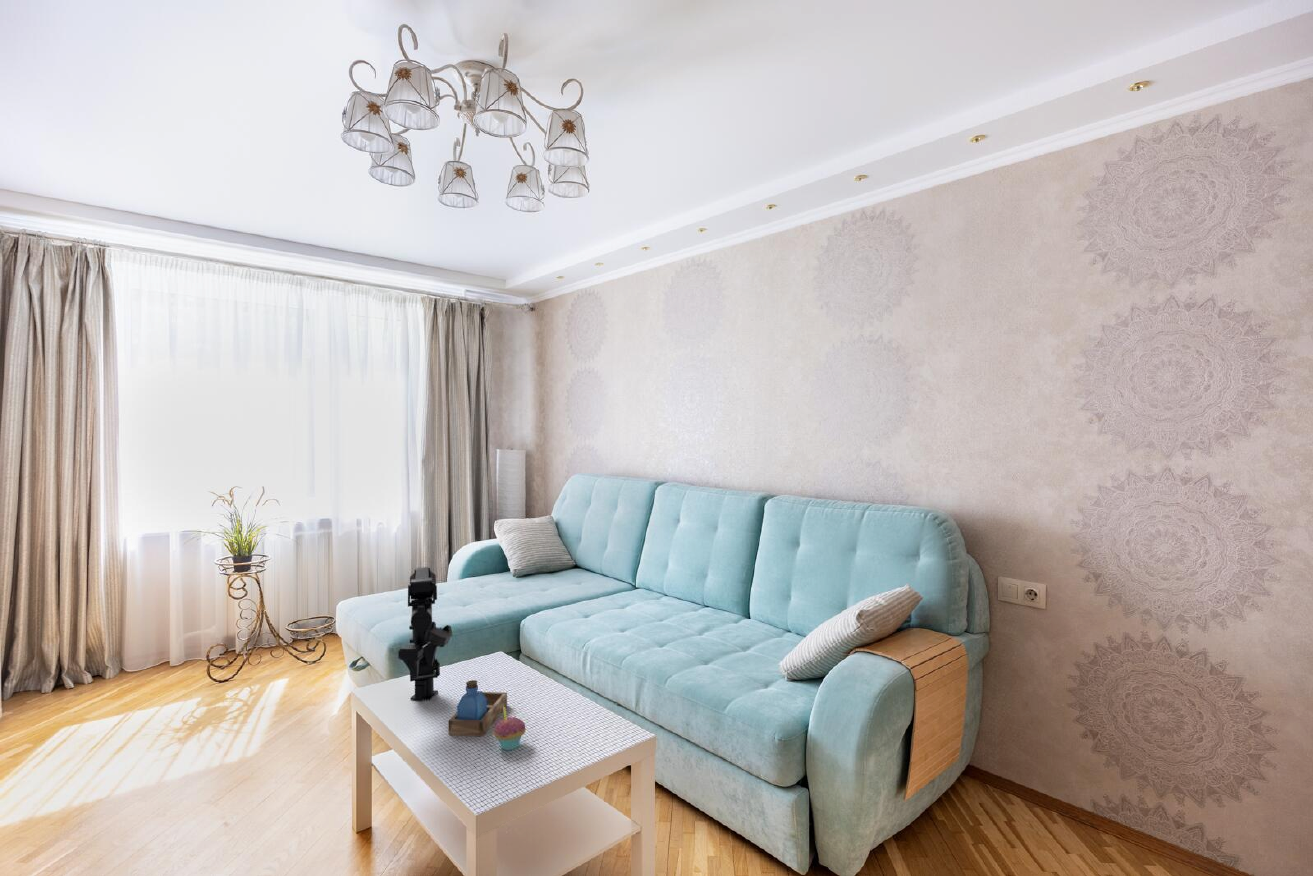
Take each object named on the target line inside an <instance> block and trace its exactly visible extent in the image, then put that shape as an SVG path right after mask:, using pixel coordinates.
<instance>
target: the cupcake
mask: <svg viewBox="0 0 1313 876" xmlns="http://www.w3.org/2000/svg"><path fill="white" fill-rule="evenodd" d="M502 713H503V719H501V720H500V721H498V722H497V723H496V724H495V726H493V727H494V728H493V736H494V738H495V739H497V740H498V741H499V746H500V748H501V749H502V750H504V751H512V750H515V749H517V748H518V747H519V746H520V742H521V738H522V736H523V735H525V733H526V730H527V729H526V724H525V722H524V721H523V720H522V719H520V718H518V717H516V716H515V717H512V716H511V717H508V715H507V710H506V707H504V705H503V711H502Z"/></svg>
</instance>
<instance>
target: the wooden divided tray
mask: <svg viewBox="0 0 1313 876" xmlns="http://www.w3.org/2000/svg"><path fill="white" fill-rule="evenodd" d="M482 693H483V694H484V695H485V697H486V698H487V713H486V714H485V715H484V717H483V718H482V719H481V720H458V719H457V711H456V712H455V713H454V714H453V715H452V717H451V718H449V720H447V721H448V736H464V737H465V736H466V737H468V736H469V737H483V736H484V735H485V734H486V733H485V732H487V731H488V730H489V729H490V728H491V726H492V725H493V724H494V723H495V722H496V720H497V719H498V718H499V716H500V715H501V714H502V713H503V705H504V707H505V708H506V707H507V706H508V692H503V691H502V692H501V691H500V692H498V691H497V692H496V691H482ZM506 705H507V706H506ZM499 714H500V715H499Z"/></svg>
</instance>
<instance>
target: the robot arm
mask: <svg viewBox="0 0 1313 876" xmlns="http://www.w3.org/2000/svg"><path fill="white" fill-rule="evenodd" d="M436 576H437V575H436V573H434V572H433V571H431V567H429V566H425V567H416V568H414V573H412V574H411V575H410V577H409V584H408V585H407V607H411V616H410V625H409V630H411V632H412V633H411V634H412V636H411V638H410V639H409V644H405V645H404V646H402V647H401V648H400V649H399V650H397V659H399V660H401V661H403V663H404V664H405V666H406V667H407V669H408V670H409V680H410V682H414V694H413V695H412V696H410V700H412V701H413V700H414V701H430V700H431V699H432V698H433V697H435V696H436V695H437V694H438V693H439V690H435V687H434V681H435V679H438V678H439V676H440V675H441V671H440V670H441V669H440V668H441V665H440V664H441V663H440V662H439V661H438V658H436V653H437V650H438V647H439V648H445V646H446V645H448V644H449V643H450V640H451V637H453V630H452V626H451V625H449V624H446V625H445V626H444V627H437V626H436V625H437V623H436V622H435V621H433V605H434V604H436V601H437V600H438V585H437V577H436Z"/></svg>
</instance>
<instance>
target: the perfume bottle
mask: <svg viewBox="0 0 1313 876" xmlns="http://www.w3.org/2000/svg"><path fill="white" fill-rule="evenodd" d="M465 684H466V685H465V694H463V695H462V696H461V698H460V699H459V701H458V703H457V705H456V712H457V719H458V720H481V719H482V718H483V717H484V715H485V714H486V713H487V698H486V697H485V695H484V694H483V693H482V692H483V691H480V690H479V685H478V681H477V680H476V679H472V680H468V681H466V682H465Z"/></svg>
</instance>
